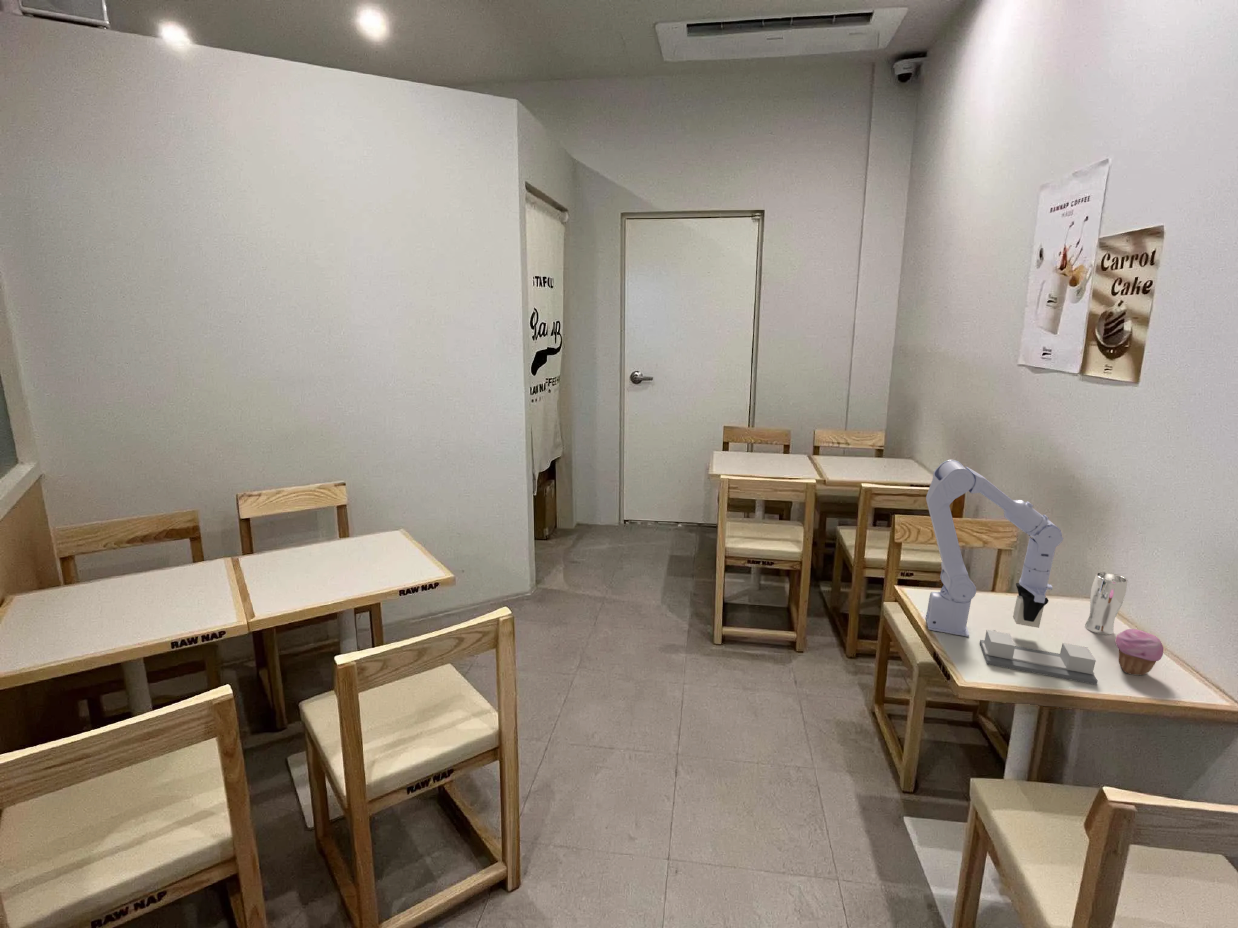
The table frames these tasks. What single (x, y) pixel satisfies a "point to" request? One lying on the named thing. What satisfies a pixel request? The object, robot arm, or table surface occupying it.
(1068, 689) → the table surface
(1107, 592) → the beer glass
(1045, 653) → the rail board
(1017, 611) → the block
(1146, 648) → the cupcake
